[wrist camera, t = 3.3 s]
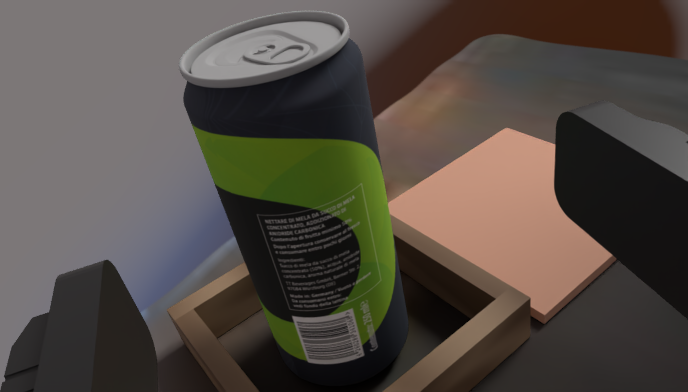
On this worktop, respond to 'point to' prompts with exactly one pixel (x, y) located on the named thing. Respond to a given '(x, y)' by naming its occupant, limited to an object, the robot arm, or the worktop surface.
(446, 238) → the trivet
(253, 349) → the worktop surface
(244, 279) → the wooden tray
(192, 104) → the beverage can
